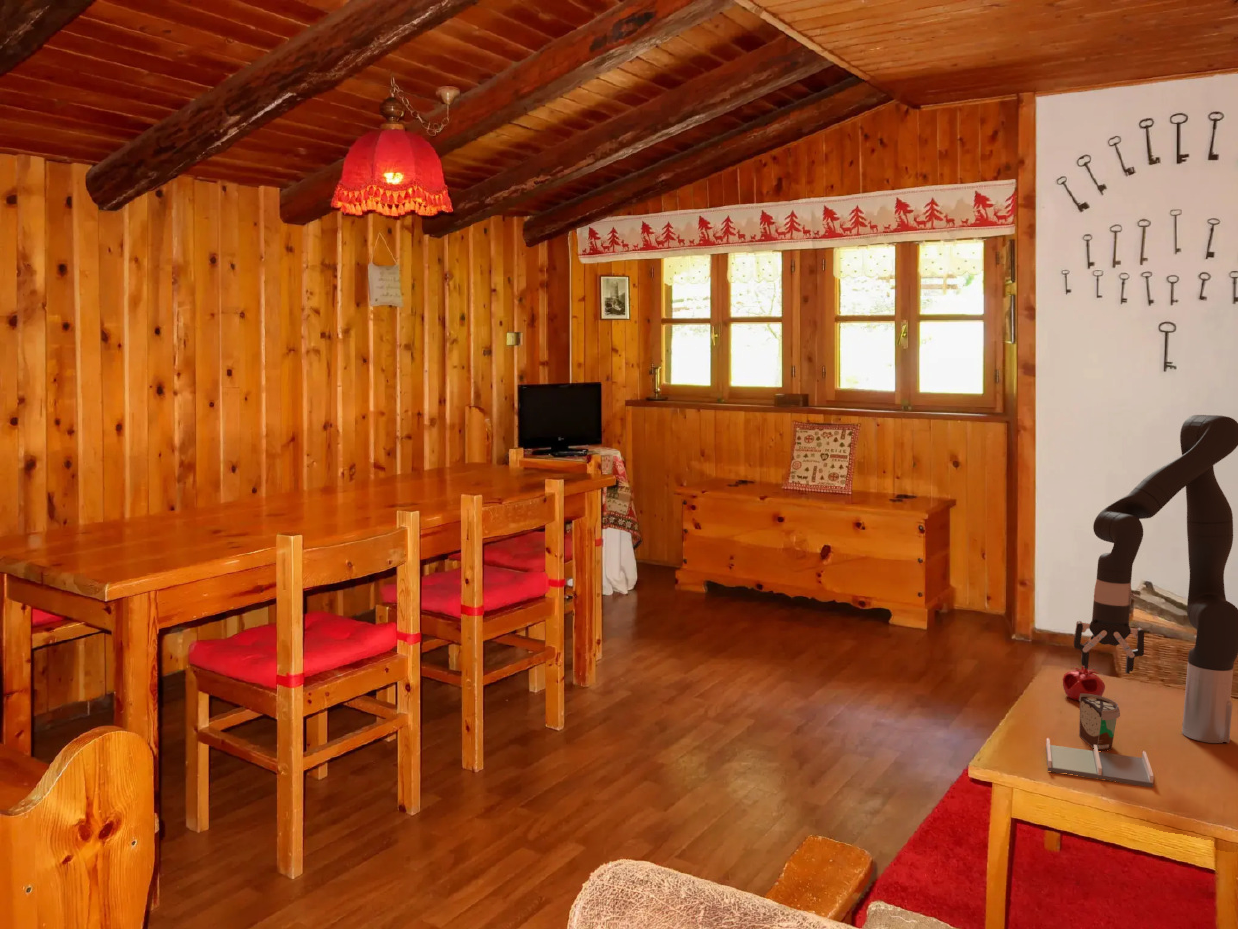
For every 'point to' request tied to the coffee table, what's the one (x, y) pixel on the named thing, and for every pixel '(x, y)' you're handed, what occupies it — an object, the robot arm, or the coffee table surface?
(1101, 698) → the food container
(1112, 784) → the coffee table surface
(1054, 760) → the sorting board
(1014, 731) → the coffee table surface
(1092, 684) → the pomegranate
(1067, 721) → the coffee table surface
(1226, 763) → the coffee table surface
